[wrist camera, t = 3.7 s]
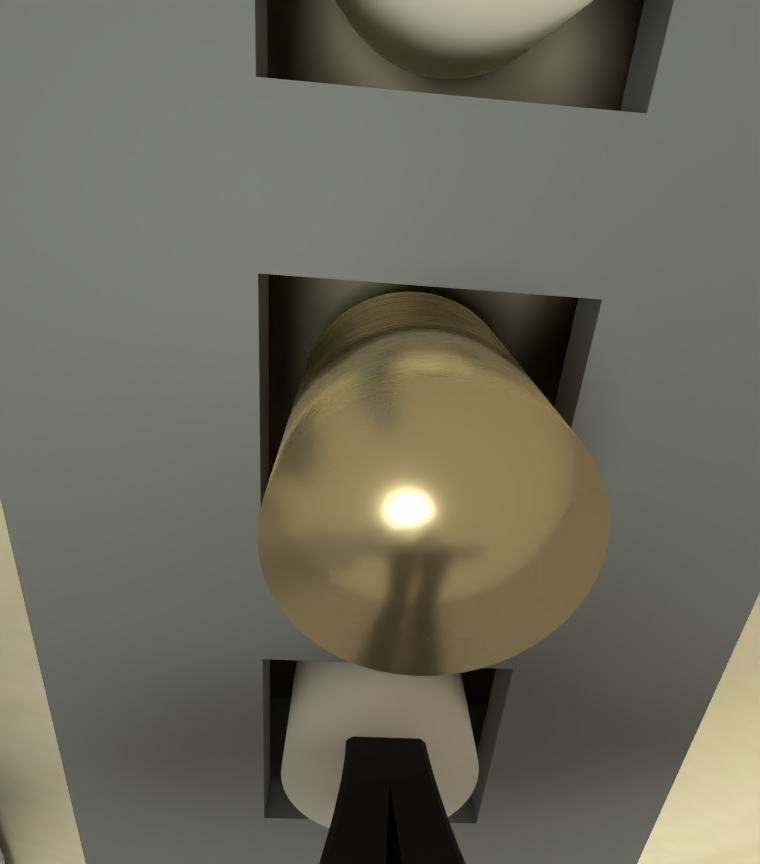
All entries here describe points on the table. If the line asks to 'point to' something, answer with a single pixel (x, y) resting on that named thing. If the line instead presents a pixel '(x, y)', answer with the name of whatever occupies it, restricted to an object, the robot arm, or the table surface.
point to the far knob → (373, 730)
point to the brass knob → (427, 496)
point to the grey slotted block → (249, 401)
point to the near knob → (456, 31)
